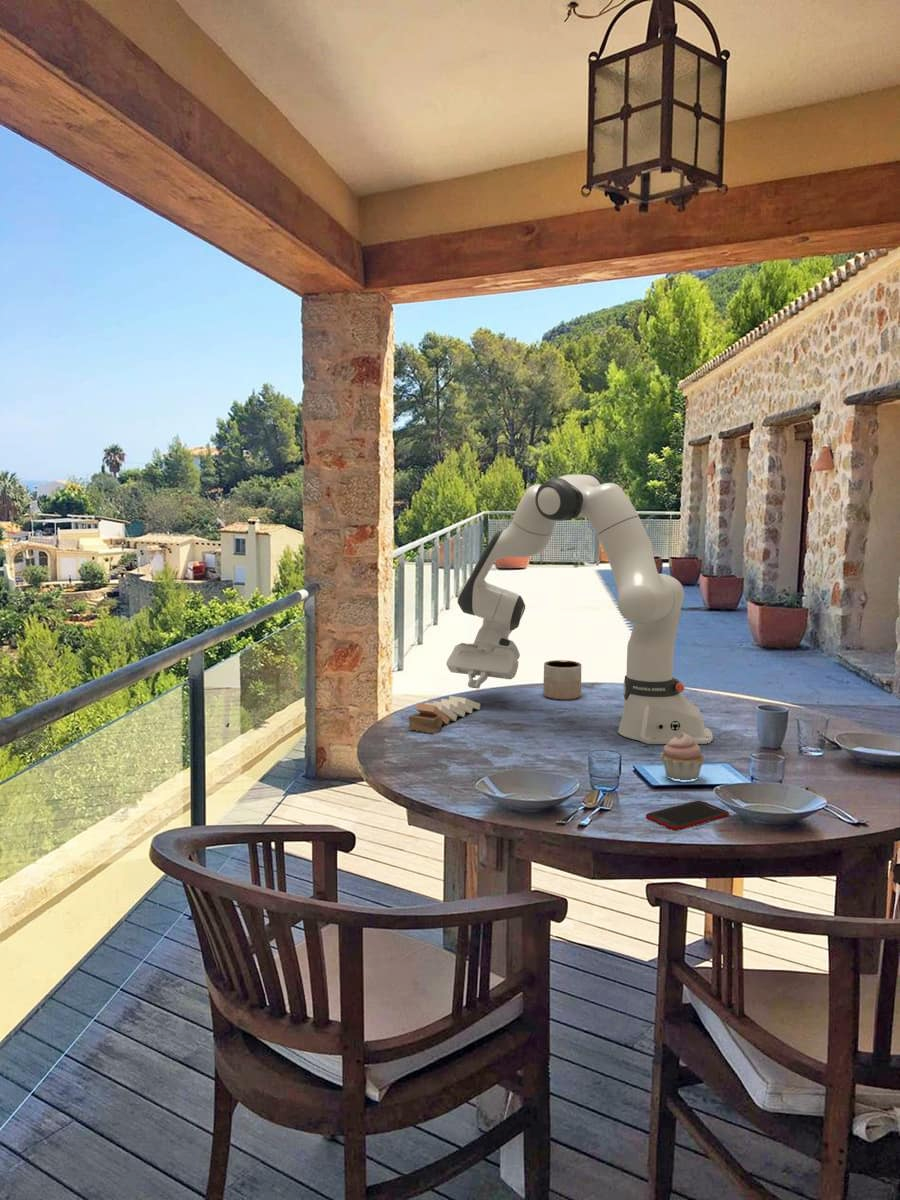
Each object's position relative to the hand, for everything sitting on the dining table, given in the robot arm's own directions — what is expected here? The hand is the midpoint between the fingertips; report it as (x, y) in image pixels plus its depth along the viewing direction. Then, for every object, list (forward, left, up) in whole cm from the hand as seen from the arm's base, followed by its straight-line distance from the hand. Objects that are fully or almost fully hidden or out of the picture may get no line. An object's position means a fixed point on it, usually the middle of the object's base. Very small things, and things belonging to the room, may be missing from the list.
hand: (473, 686), depth 244 cm
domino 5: (0, +1, -5) cm, 5 cm away
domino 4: (+2, +5, -5) cm, 7 cm away
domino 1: (+6, +17, -5) cm, 19 cm away
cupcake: (-51, +51, -6) cm, 72 cm away
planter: (-24, -18, -6) cm, 30 cm away
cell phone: (-50, +73, -6) cm, 88 cm away
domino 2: (+5, +13, -5) cm, 15 cm away
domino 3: (+3, +9, -5) cm, 11 cm away
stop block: (+9, +24, -6) cm, 26 cm away
